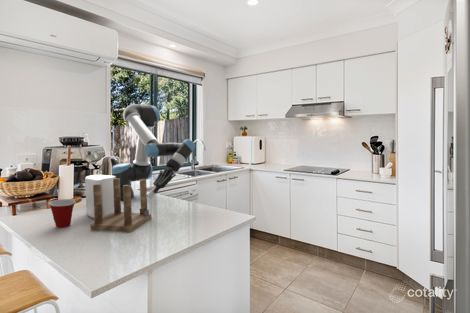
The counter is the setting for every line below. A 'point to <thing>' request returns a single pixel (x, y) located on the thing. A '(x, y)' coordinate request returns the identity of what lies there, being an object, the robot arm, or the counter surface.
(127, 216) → the footstool
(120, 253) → the counter surface
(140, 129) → the robot arm
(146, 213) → the hinge bracket
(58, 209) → the plastic cup
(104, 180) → the white canister
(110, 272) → the counter surface
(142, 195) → the folding leg
